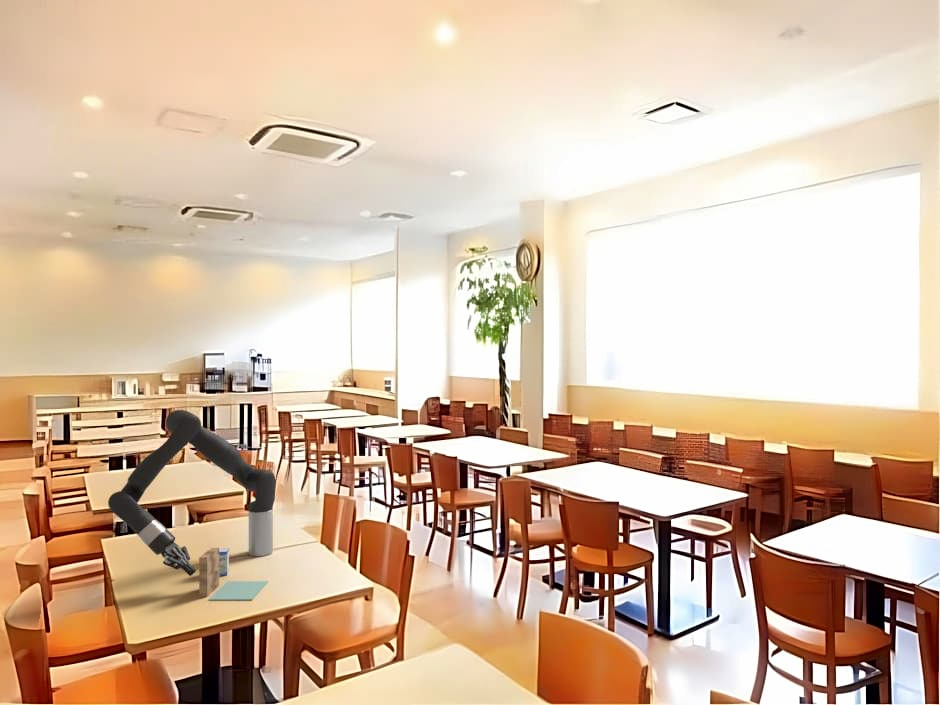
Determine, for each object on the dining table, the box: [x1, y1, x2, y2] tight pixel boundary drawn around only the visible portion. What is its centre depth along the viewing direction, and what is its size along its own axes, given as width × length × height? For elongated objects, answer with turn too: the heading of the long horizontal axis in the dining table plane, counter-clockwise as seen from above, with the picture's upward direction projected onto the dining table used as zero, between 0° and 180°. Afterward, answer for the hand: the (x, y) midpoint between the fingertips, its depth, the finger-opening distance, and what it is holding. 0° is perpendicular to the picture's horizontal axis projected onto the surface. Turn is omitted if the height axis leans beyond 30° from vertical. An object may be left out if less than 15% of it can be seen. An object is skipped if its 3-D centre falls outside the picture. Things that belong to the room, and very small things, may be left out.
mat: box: [208, 580, 269, 602], centre depth 211 cm, size 16×14×1 cm
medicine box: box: [204, 548, 230, 577], centre depth 227 cm, size 8×4×9 cm, turn 105°
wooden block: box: [198, 547, 220, 598], centre depth 211 cm, size 10×3×13 cm, turn 0°
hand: (193, 573), depth 211 cm, fingers closed
